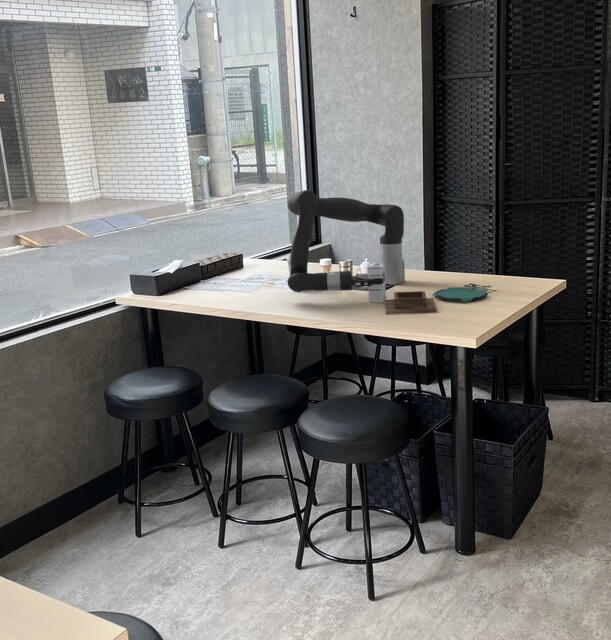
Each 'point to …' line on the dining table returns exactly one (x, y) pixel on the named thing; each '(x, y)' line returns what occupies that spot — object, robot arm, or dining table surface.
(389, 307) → the socket stand
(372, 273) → the syrup box
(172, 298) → the dining table surface
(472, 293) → the green flat pad
